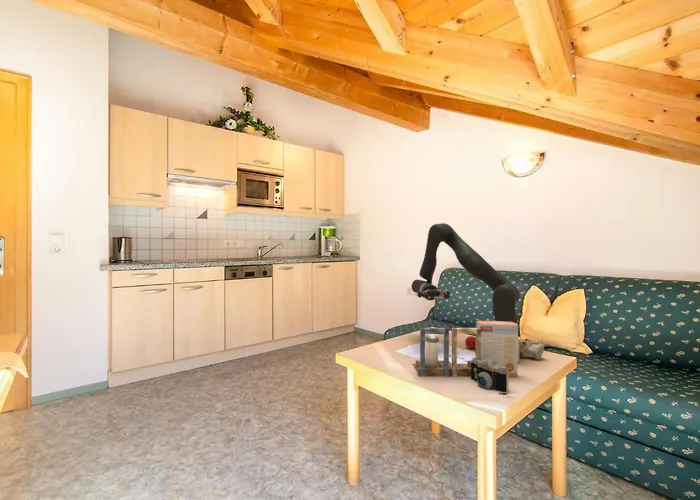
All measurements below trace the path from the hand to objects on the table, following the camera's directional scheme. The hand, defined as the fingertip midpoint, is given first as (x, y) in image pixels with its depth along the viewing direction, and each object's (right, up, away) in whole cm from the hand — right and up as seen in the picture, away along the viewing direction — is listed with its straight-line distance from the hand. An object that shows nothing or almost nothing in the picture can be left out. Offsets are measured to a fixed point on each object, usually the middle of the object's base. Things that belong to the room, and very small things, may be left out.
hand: (437, 296), depth 149 cm
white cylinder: (-6, -27, -15) cm, 31 cm away
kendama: (+27, -28, +16) cm, 42 cm away
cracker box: (+18, -28, -18) cm, 38 cm away
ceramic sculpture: (+41, -28, +5) cm, 50 cm away
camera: (+10, -29, -28) cm, 41 cm away
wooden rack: (0, -28, -14) cm, 31 cm away
